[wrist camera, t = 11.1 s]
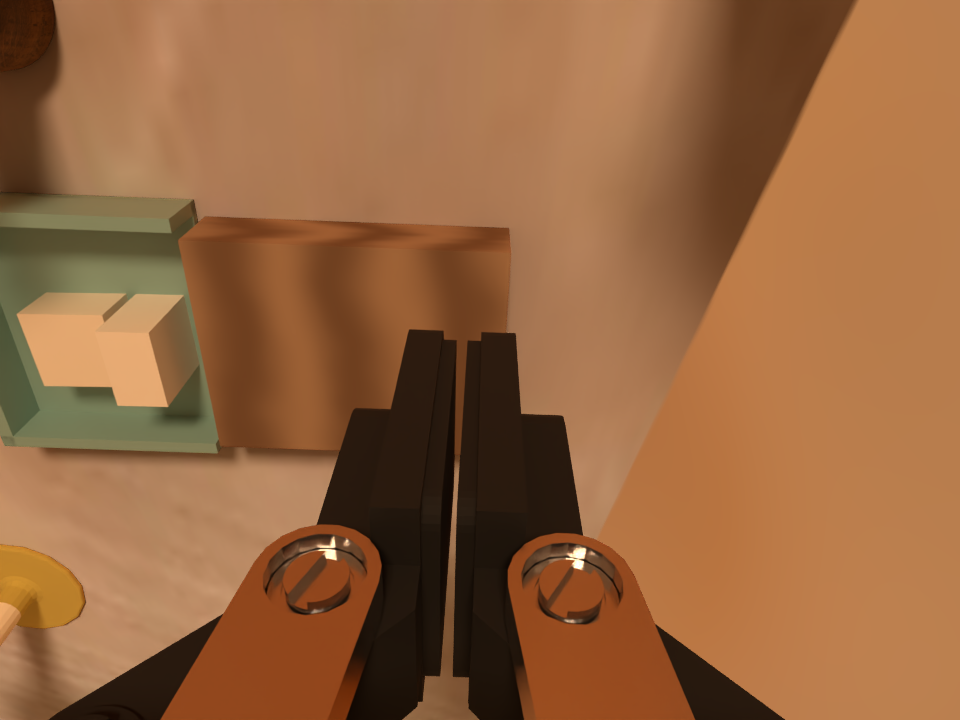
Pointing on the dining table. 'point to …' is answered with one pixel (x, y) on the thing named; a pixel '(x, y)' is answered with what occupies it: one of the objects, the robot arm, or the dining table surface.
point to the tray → (93, 269)
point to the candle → (35, 591)
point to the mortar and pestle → (24, 31)
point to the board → (330, 317)
